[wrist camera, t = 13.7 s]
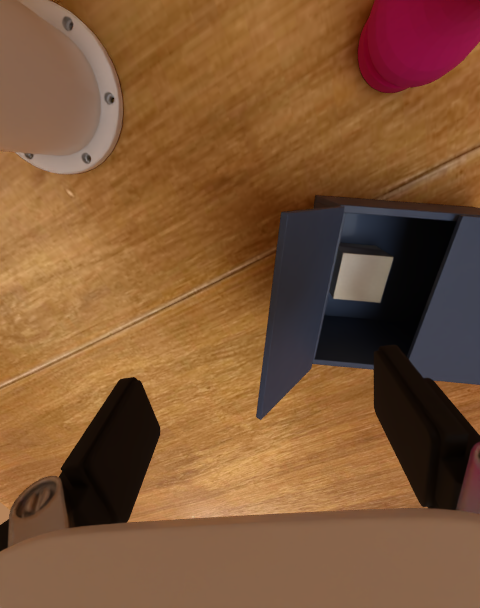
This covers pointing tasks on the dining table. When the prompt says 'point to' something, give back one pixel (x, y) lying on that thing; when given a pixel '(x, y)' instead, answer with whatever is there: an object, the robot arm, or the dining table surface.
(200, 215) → the dining table surface
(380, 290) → the block
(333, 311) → the carton
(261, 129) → the dining table surface
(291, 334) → the flap
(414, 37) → the pepper mill
